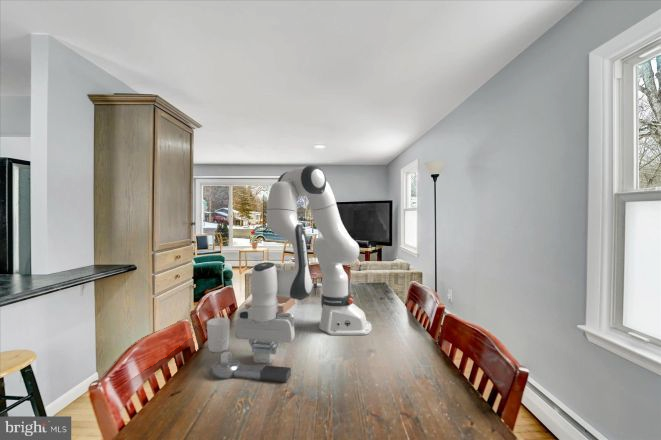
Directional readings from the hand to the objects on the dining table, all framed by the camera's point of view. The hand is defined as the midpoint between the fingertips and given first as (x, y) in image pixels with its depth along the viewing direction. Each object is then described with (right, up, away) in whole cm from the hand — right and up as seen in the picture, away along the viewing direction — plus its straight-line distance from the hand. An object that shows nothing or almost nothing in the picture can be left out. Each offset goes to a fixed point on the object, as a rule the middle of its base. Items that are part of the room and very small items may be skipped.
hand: (264, 352), depth 107 cm
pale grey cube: (0, -2, 0) cm, 2 cm away
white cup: (-19, -2, +9) cm, 21 cm away
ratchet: (-2, -2, -11) cm, 11 cm away
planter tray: (-9, -1, +59) cm, 60 cm away
